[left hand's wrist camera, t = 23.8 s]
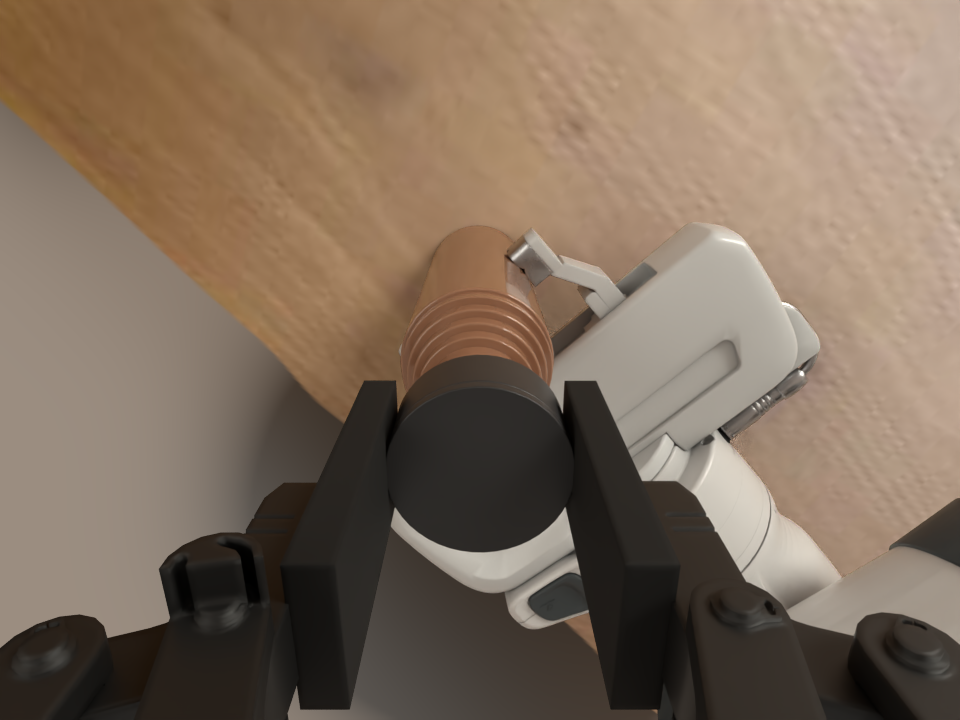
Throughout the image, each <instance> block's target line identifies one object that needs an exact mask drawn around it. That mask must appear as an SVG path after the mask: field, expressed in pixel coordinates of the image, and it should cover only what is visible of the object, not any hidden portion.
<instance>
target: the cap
mask: <svg viewBox="0 0 960 720" xmlns="http://www.w3.org/2000/svg"><path fill="white" fill-rule="evenodd" d="M386 466H387V482H388V492H389V495H390V498H391V500H392V502H393V504H394V506H395V508H396V509H397V511H398V512H399V514H400V515H401V516H402V518H403V519H404V520H405V521H406V522H407V523H408V524H409V525H410V526H411V527H412V528H413V529H414V530H416V531H417V532H418V533H419V534H421V535H422V536H424V537H425V538H427V539H429V540H431V541H433V542H435V543H437V544H439V545H442V546H445V547H447V548H450V549H455V550H459V551H465V552H477V553H485V552H496V551H501V550H506V549H510V548H513V547H516V546H519V545H521V544H523V543H526V542H528V541H530V540H532V539H533V538H535V537H537V536H538V535H540V534H541V533H542V532H544V531H545V530H546V529H547V528H549V527H550V526H551V525H552V524H553V523H554V522H555V521H556V519H557V518H558V517H559V515H560V514H561V513H562V512H563V510H564V508H565V506H566V505H567V503H568V501H569V498H570V496H571V494H572V488H573V473H574V452H573V447H572V444H571V441H570V437H569V434H568V430H567V427H566V423H565V420H564V416H563V413H562V410H561V407H560V404H559V402H558V400H557V398H556V396H555V394H554V393H553V391H552V390H551V389H550V387H549V386H548V385H547V383H546V382H545V381H544V380H543V379H542V378H541V377H540V376H538V375H537V374H536V373H534V372H533V371H532V370H531V369H529V368H527V367H525V366H524V365H522V364H520V363H517V362H515V361H513V360H510V359H506V358H503V357H499V356H492V355H469V356H462V357H458V358H454V359H451V360H448V361H445V362H443V363H441V364H439V365H437V366H435V367H433V368H432V369H430V370H429V371H427V372H426V373H424V374H423V375H422V376H421V377H420V378H419V379H418V380H417V381H416V382H415V383H414V384H413V385H412V386H411V388H410V389H409V390H408V392H407V393H406V395H405V397H404V398H403V401H402V403H401V405H400V408H399V411H398V415H397V418H396V421H395V425H394V428H393V432H392V435H391V439H390V442H389V446H388V449H387V453H386Z"/></svg>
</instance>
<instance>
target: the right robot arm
mask: <svg viewBox="0 0 960 720" xmlns="http://www.w3.org/2000/svg"><path fill="white" fill-rule="evenodd" d="M507 252H508V253H507V254H508V256H509V257H510V259H511V260H512V261H513V262H514V264H515V265H517V266H518V267H519V268H522V269H524V273H525V275H526V276H527V278H528V279H529V280H530V281H531V283H532V284H533V285H534V286H535V287H536V286H537V285H538V284H539V283H541V282H542V281H543V280H544V279H545V278H547V277H548V276H549V275H550V274H551V276H554V277H557V278H560V279H563V280H566V281H569V282H572V283H575V284H578V285H579V286H578V289H577V290H578V291H579V293H580V294H581V296H582V297H583V299H584V300H585V302H586V303H587V304H588V305H589V306H587V307H586V308H585V309H584V310H583V311H581V312H580V313H579V314H578V315H576V316H575V317H574V318H573V319H572V320H570V321H569V322H568V323H567V324H566V325H564V326H563V327H562V328H561V329H560V330H558V331H557V332H556V333H555V334H554V335H552V336H551V337H550V338H551V342H552V345H553V352H554V367H553V373H552V380H551V384H550V389H551V390H552V391H553V393H554V394H555V396H556V398H557V400H558V402H559V404H560V407H561V410H562V413H563V398H564V381H597V383H598V386H599V388H600V390H601V392H602V394H603V397H604V399H605V401H606V403H607V405H608V407H609V410H610V412H611V414H612V416H613V418H614V421H615V423H616V425H617V427H618V429H619V431H620V434H621V436H622V438H623V440H624V442H625V445H626V447H627V449H628V451H629V453H630V455H631V458H632V460H633V462H634V464H635V466H636V469H637V471H638V473H639V475H640V477H641V479H642V481H677V482H679V483H680V484H681V485H683V486H684V487H685V488H686V489H688V490H689V491H690V492H692V493H693V494H694V495H695V496H696V497H697V498H698V500H699V502H700V504H701V505H702V507H703V509H704V510H705V512H706V517H709V519H710V521H711V522H712V524H713V526H714V527H715V532H717V533H718V534H719V536H720V538H721V539H722V541H723V543H724V544H725V546H726V548H727V550H728V551H729V553H730V555H731V556H732V558H733V560H734V562H735V563H736V565H737V567H738V568H739V570H740V572H741V573H742V575H743V577H744V579H745V580H746V582H749V583H751V584H753V585H755V586H757V587H759V588H761V589H763V590H765V591H767V592H768V593H770V594H771V595H772V596H773V597H774V598H776V599H777V600H778V601H779V602H780V603H781V604H782V605H783V607H784V608H785V610H786V612H787V613H788V615H789V616H790V619H792V620H795V621H797V622H800V623H804V624H807V625H810V626H814V627H818V628H822V629H827V630H831V631H835V632H839V633H844V634H848V635H852V636H854V634H855V630H856V627H857V623H859V622H860V621H861V620H862V619H863V618H864V617H865V616H866V615H870V614H875V613H880V612H885V613H894V614H902V615H905V616H909V617H912V618H915V619H918V620H921V621H924V622H926V623H928V624H930V625H931V626H933V627H935V628H937V629H939V630H941V631H943V632H944V633H946V634H948V635H949V636H950V637H951V638H953V639H954V640H955V641H956V642H957V643H959V644H960V498H957V499H955V500H954V501H952V502H951V503H949V504H948V505H947V506H945V507H944V508H942V509H941V510H940V511H938V512H937V513H935V514H934V515H933V516H931V517H930V518H928V519H927V520H926V521H924V522H923V523H921V524H920V525H919V526H917V527H916V528H914V529H913V530H912V531H910V532H909V533H907V534H906V535H905V536H903V537H902V538H900V539H899V540H898V541H896V542H895V543H893V544H892V545H891V546H890V548H889V551H888V552H886V553H884V554H882V555H881V556H879V557H877V558H875V559H874V560H872V561H870V562H869V563H867V564H865V565H863V566H862V567H860V568H858V569H857V570H855V571H853V572H851V573H850V574H848V575H846V576H844V577H843V578H842V577H841V575H840V574H839V573H838V571H837V570H836V569H835V567H834V566H833V564H832V563H831V562H830V561H829V559H828V558H827V557H826V555H825V554H824V553H823V552H822V551H821V549H820V548H819V547H818V546H817V544H816V543H815V542H814V541H813V540H812V538H811V537H810V536H809V535H808V534H807V533H806V532H805V531H804V530H803V529H802V528H801V527H800V526H798V525H797V524H796V523H794V522H793V521H792V520H790V519H788V518H786V517H785V516H783V515H781V514H780V513H779V512H778V511H777V508H776V505H775V502H774V500H773V497H772V495H771V494H770V492H769V490H768V488H767V487H766V485H765V484H764V483H763V482H762V480H761V479H760V478H759V477H758V475H757V474H756V473H755V472H754V471H753V470H752V468H751V467H750V466H749V465H748V464H747V463H746V461H745V460H744V459H743V458H742V457H741V456H740V454H739V453H738V452H737V451H736V450H735V449H734V448H733V447H732V445H731V444H730V440H731V439H733V438H734V437H735V436H737V435H738V434H740V433H741V432H742V431H744V430H745V429H746V428H748V427H749V426H751V425H752V424H753V423H755V422H756V421H757V420H758V419H760V418H761V416H763V415H764V414H765V413H766V412H767V411H768V410H770V408H772V407H773V406H775V404H778V403H779V402H780V401H782V400H783V399H785V400H786V399H788V398H789V397H791V396H793V395H794V394H795V393H797V392H798V391H799V390H800V389H801V388H802V387H803V386H804V385H805V384H806V383H807V382H808V379H807V377H806V376H805V375H806V374H807V373H808V372H809V371H810V370H811V369H812V367H813V365H814V364H815V362H816V359H817V357H818V352H819V350H820V342H819V339H818V337H817V334H816V332H815V331H814V329H813V328H812V326H811V325H810V324H809V322H808V321H807V320H806V318H805V317H804V316H803V314H802V313H801V312H800V310H799V309H797V308H796V307H795V306H794V305H792V304H790V303H788V302H785V301H781V299H780V297H779V296H778V294H777V292H776V290H775V288H774V286H773V284H772V282H771V280H770V279H769V277H768V275H767V273H766V272H765V270H764V268H763V267H762V265H761V263H760V262H759V260H758V259H757V257H756V256H755V254H754V253H753V251H752V250H751V248H750V247H749V245H748V244H747V243H746V241H745V240H744V239H743V238H742V237H741V236H740V235H738V234H737V233H736V232H734V231H732V230H731V229H728V228H726V227H724V226H720V225H716V224H710V223H701V222H691V223H688V224H687V225H685V226H684V227H682V228H681V229H680V230H679V231H678V232H676V233H675V234H674V235H673V236H672V237H670V238H669V239H668V240H667V241H666V242H664V243H663V244H662V245H661V246H660V247H658V248H657V249H656V250H655V251H654V252H652V253H651V254H650V255H649V256H647V257H646V258H645V259H644V260H643V261H641V262H640V263H639V264H638V265H637V266H635V267H634V268H633V269H632V270H631V271H629V272H628V273H627V274H626V275H625V276H623V277H622V278H621V279H620V280H619V281H617V282H616V283H615V284H614V283H613V282H612V281H611V280H610V279H609V277H608V276H607V275H606V274H605V273H604V272H603V271H602V270H601V269H600V268H599V267H597V266H594V265H590V264H587V263H584V262H581V261H578V260H575V259H572V258H568V257H565V256H562V255H558V256H556V255H555V253H554V252H553V251H552V250H551V249H550V248H549V247H548V245H547V244H546V243H545V242H544V241H543V240H542V238H541V237H540V236H539V235H538V234H537V233H536V232H535V231H534V230H533V229H532V228H530V229H529V230H528V231H527V232H526V233H525V234H523V235H522V236H521V237H520V238H519V239H518V240H517V241H516V242H515V243H514V244H512V245H511V246H510V247H509V248H508V249H507ZM401 348H402V344H401V346H400V349H399V354H400V356H401ZM801 364H802V366H801V367H800V368H797V367H799V366H800V365H801ZM391 527H392V528H393V529H394V531H395V532H396V533H397V534H398V535H400V536H401V537H402V538H403V539H404V540H405V541H406V542H407V543H408V544H410V545H411V546H412V547H413V548H414V549H416V550H417V551H418V552H419V553H421V554H422V555H423V556H424V557H426V558H427V559H428V560H429V561H431V562H432V563H433V564H435V565H436V566H437V567H439V568H440V569H441V570H443V571H444V572H446V573H447V574H448V575H450V576H451V577H453V578H454V579H456V580H457V581H459V582H460V583H462V584H464V585H466V586H468V587H470V588H472V589H475V590H477V591H481V592H485V593H501V592H505V597H506V602H507V606H508V610H509V613H510V614H511V616H512V617H513V618H514V619H515V620H516V621H517V622H518V623H519V624H521V625H522V626H523V627H525V628H528V629H540V628H544V627H547V626H550V625H553V624H556V623H559V622H562V621H565V620H568V619H571V618H574V617H577V616H580V615H583V614H586V613H589V610H588V606H587V601H586V597H585V592H584V588H583V584H582V579H581V575H580V570H579V566H578V561H577V557H576V552H575V548H574V543H573V539H572V534H571V530H570V526H569V521H568V517H567V512H566V508H564V510H563V512H562V513H561V514H560V515H559V517H558V518H557V519H556V521H555V522H554V523H553V524H552V525H551V526H550V527H549V528H547V529H546V530H545V531H544V532H542V533H541V534H540V535H538V536H537V537H535V538H533V539H532V540H530V541H528V542H526V543H523V544H521V545H519V546H516V547H513V548H510V549H506V550H501V551H496V552H485V553H477V552H465V551H459V550H455V549H450V548H447V547H445V546H442V545H439V544H437V543H435V542H433V541H431V540H429V539H427V538H425V537H424V536H422V535H421V534H419V533H418V532H417V531H416V530H414V529H413V528H412V527H411V526H410V525H409V524H408V523H407V522H406V521H405V520H404V519H403V518H402V516H401V515H400V514H399V512H398V511H397V509H396V508H395V509H394V514H393V518H392V523H391ZM672 714H673V709H672V706H671V703H670V700H669V697H668V694H667V691H666V688H665V685H663V692H662V699H661V706H660V710H658V720H672Z"/></svg>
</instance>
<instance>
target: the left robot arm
mask: <svg viewBox="0 0 960 720" xmlns="http://www.w3.org/2000/svg"><path fill="white" fill-rule="evenodd" d="M397 415H398V410H397V391H396V381H364V382H363V384H362V387H361V389H360V391H359V393H358V395H357V397H356V400H355V402H354V404H353V406H352V408H351V411H350V413H349V415H348V417H347V419H346V421H345V424H344V426H343V428H342V430H341V432H340V435H339V437H338V439H337V441H336V443H335V445H334V448H333V450H332V452H331V454H330V456H329V459H328V461H327V463H326V465H325V467H324V470H323V472H322V474H321V476H320V478H319V480H318V483H283V484H282V485H281V486H279V487H278V488H277V489H275V490H274V491H273V492H272V493H270V494H269V495H268V496H266V497H265V498H264V500H263V502H262V503H261V505H260V507H259V508H258V510H257V512H256V514H255V516H254V519H252V521H251V522H250V524H249V526H248V527H247V529H246V534H242V533H217V534H213V535H208V536H204V537H200V538H198V539H196V540H194V541H191V542H189V543H187V544H185V545H183V546H181V547H180V548H179V549H177V550H176V551H175V552H173V553H172V554H171V555H169V556H168V557H167V559H166V560H165V561H164V563H163V564H162V566H161V567H160V568H159V572H160V576H161V580H162V585H163V589H164V593H165V598H166V602H167V606H168V611H169V615H170V620H169V622H167V623H165V624H161V625H158V626H155V627H152V628H148V629H144V630H140V631H136V632H131V633H127V634H123V635H119V636H114V637H111V638H107V635H106V632H105V628H104V626H103V625H102V624H101V623H100V622H99V621H98V620H97V619H96V618H94V617H89V616H84V615H71V616H62V617H57V618H54V619H51V620H48V621H45V622H42V623H39V624H36V625H34V626H33V627H31V628H29V629H27V630H25V631H23V632H22V633H20V634H18V635H16V636H14V637H13V638H12V639H11V640H10V641H8V642H7V643H6V644H5V645H3V646H2V647H1V648H0V720H288V714H287V713H288V710H289V707H290V704H291V701H292V698H293V695H294V692H295V689H296V686H297V689H298V696H299V703H300V709H302V710H303V709H305V710H307V709H308V710H312V709H313V710H314V709H315V710H320V709H321V710H322V709H326V710H328V709H330V710H331V709H333V710H334V709H335V710H338V709H339V710H342V709H343V710H345V709H350V706H351V701H352V697H353V692H354V688H355V683H356V679H357V674H358V670H359V666H360V661H361V656H362V652H363V648H364V643H365V639H366V634H367V630H368V625H369V621H370V616H371V612H372V608H373V603H374V599H375V594H376V590H377V585H378V581H379V576H380V572H381V567H382V563H383V558H384V554H385V550H386V545H387V540H388V536H389V532H390V527H391V523H392V518H393V514H394V509H395V506H394V504H393V502H392V500H391V498H390V495H389V492H388V482H387V466H386V453H387V449H388V446H389V442H390V439H391V435H392V432H393V428H394V425H395V421H396V418H397ZM563 416H564V420H565V423H566V427H567V430H568V434H569V437H570V441H571V444H572V447H573V452H574V473H573V488H572V494H571V496H570V498H569V501H568V503H567V505H566V506H565V508H566V512H567V517H568V521H569V526H570V530H571V534H572V539H573V543H574V548H575V552H576V557H577V561H578V566H579V570H580V575H581V579H582V584H583V588H584V592H585V597H586V601H587V606H588V610H589V615H590V619H591V624H592V628H593V633H594V637H595V642H596V646H597V651H598V655H599V659H600V664H601V668H602V673H603V677H604V682H605V686H606V691H607V695H608V700H609V704H610V708H611V709H657V710H660V706H661V699H662V692H663V685H665V688H666V691H667V694H668V697H669V700H670V703H671V706H672V709H673V714H672V720H960V644H959V643H957V642H956V641H955V640H954V639H953V638H951V637H950V636H949V635H948V634H946V633H944V632H943V631H941V630H939V629H937V628H935V627H933V626H931V625H930V624H928V623H926V622H924V621H921V620H918V619H915V618H912V617H909V616H905V615H902V614H894V613H885V612H880V613H875V614H870V615H866V616H865V617H864V618H863V619H862V620H861V621H860V622H859V623H857V627H856V630H855V634H854V636H852V635H848V634H844V633H839V632H835V631H831V630H827V629H822V628H818V627H814V626H810V625H807V624H804V623H800V622H797V621H795V620H792V619H790V616H789V615H788V613H787V612H786V610H785V608H784V607H783V605H782V604H781V603H780V602H779V601H778V600H777V599H776V598H774V597H773V596H772V595H771V594H770V593H768V592H767V591H765V590H763V589H761V588H759V587H757V586H755V585H753V584H751V583H749V582H746V580H745V579H744V577H743V575H742V573H741V572H740V570H739V568H738V567H737V565H736V563H735V562H734V560H733V558H732V556H731V555H730V553H729V551H728V550H727V548H726V546H725V544H724V543H723V541H722V539H721V538H720V536H719V534H718V533H717V532H715V527H714V526H713V524H712V522H711V521H710V519H709V517H706V512H705V510H704V509H703V507H702V505H701V504H700V502H699V500H698V498H697V497H696V496H695V495H694V494H693V493H692V492H690V491H689V490H688V489H686V488H685V487H684V486H683V485H681V484H680V483H679V482H677V481H642V479H641V477H640V475H639V473H638V471H637V469H636V466H635V464H634V462H633V460H632V458H631V455H630V453H629V451H628V449H627V447H626V445H625V442H624V440H623V438H622V436H621V434H620V431H619V429H618V427H617V425H616V423H615V421H614V418H613V416H612V414H611V412H610V410H609V407H608V405H607V403H606V401H605V399H604V397H603V394H602V392H601V390H600V388H599V386H598V383H597V381H564V398H563Z"/></svg>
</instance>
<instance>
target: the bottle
mask: <svg viewBox="0 0 960 720" xmlns="http://www.w3.org/2000/svg"><path fill="white" fill-rule="evenodd" d="M512 244H514V242H513V241H512V240H511V239H510V238H509V237H508V236H506V235H505V234H503V233H502V232H500V231H498V230H496V229H493V228H491V227H486V226H469V227H465V228H462V229H459V230H457V231H455V232H453V233H452V234H450V235H449V236H448V237H446V238H445V239H444V240H443V241H442V243H441V244H440V245H439V247H438V248H437V250H436V252H435V254H434V257H433V259H432V262H431V265H430V268H429V270H428V273H427V276H426V279H425V281H424V284H423V287H422V290H421V292H420V295H419V298H418V301H417V303H416V306H415V309H414V311H413V314H412V317H411V320H410V322H409V325H408V328H407V331H406V333H405V336H404V340H403V343H402V348H401V360H400V362H401V371H402V378H403V382H404V386H405V389H406V391H407V392H408V390H409V389H410V388H411V386H412V385H413V384H414V383H415V382H416V381H417V380H418V379H419V378H420V377H421V376H422V375H423V374H424V373H426V372H427V371H429V370H430V369H432V368H433V367H435V366H437V365H439V364H441V363H443V362H445V361H448V360H451V359H454V358H458V357H462V356H469V355H492V356H499V357H503V358H506V359H510V360H513V361H515V362H517V363H520V364H522V365H524V366H525V367H527V368H529V369H531V370H532V371H533V372H534V373H536V374H537V375H538V376H540V377H541V378H542V379H543V380H544V381H545V382H546V383H547V385H548V386H549V387H550V384H551V380H552V373H553V367H554V352H553V345H552V342H551V338H550V335H549V332H548V329H547V326H546V324H545V321H544V318H543V315H542V312H541V310H540V307H539V304H538V301H537V298H536V296H535V293H534V290H533V287H532V284H531V281H530V280H529V279H528V278H527V276H526V275H525V273H524V269H522V268H519V267H518V266H517V265H515V264H514V262H513V261H512V260H511V259H510V257H509V256H508V254H507V253H508V252H507V249H508V248H509V247H510V246H511V245H512Z"/></svg>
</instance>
